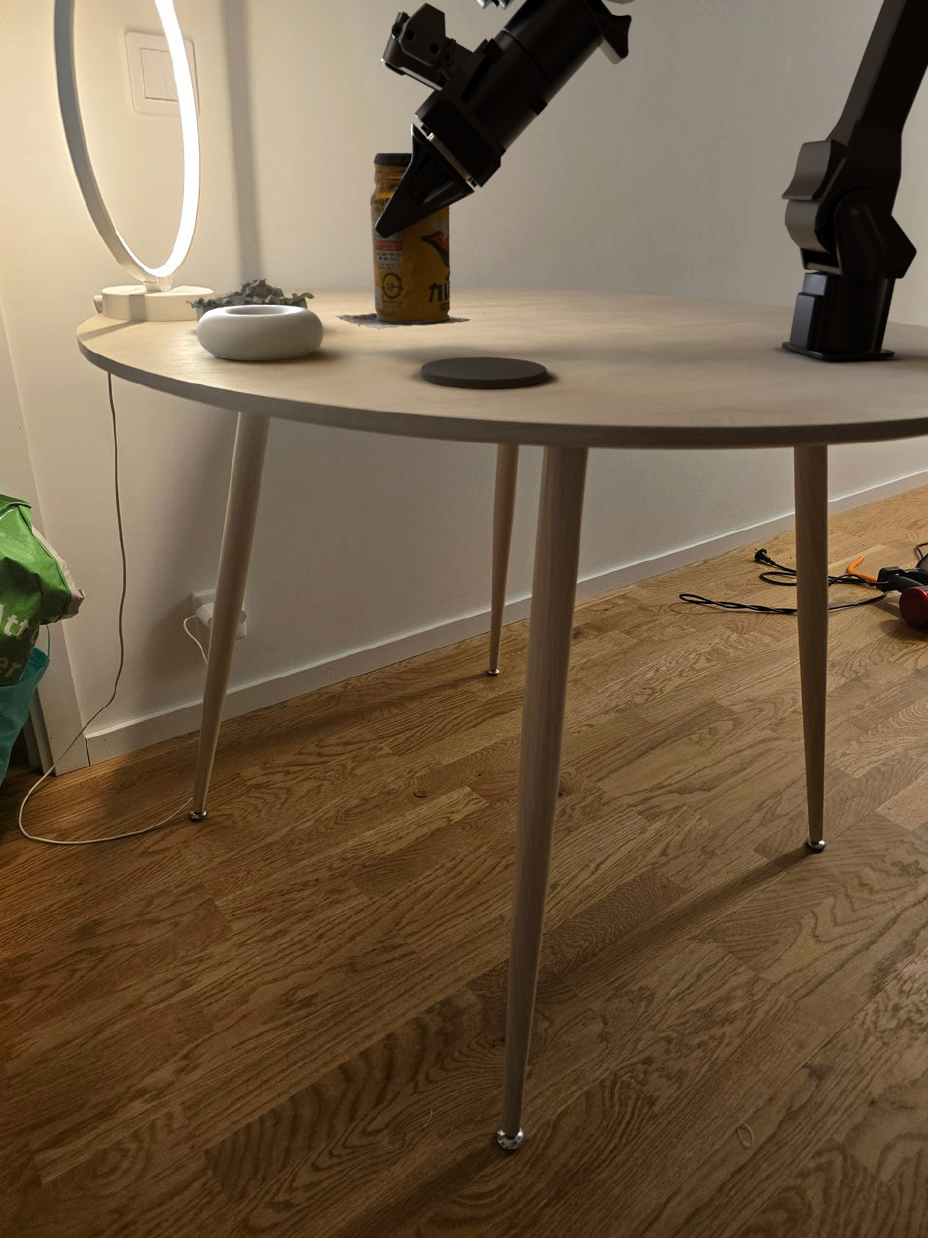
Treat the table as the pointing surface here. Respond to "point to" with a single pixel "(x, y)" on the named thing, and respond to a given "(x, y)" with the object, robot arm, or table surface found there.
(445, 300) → the condiment
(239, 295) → the grey crumpled piece
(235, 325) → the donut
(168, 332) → the table surface
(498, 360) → the coaster
